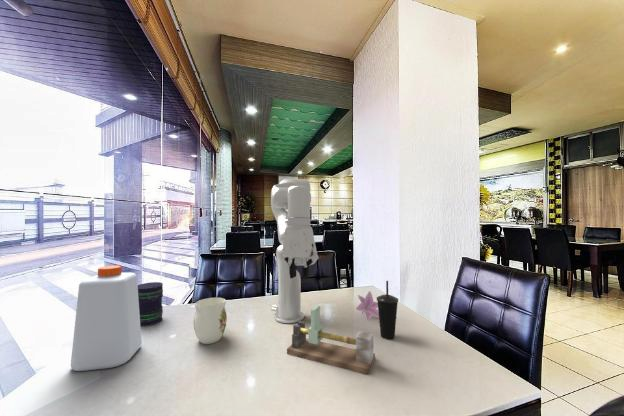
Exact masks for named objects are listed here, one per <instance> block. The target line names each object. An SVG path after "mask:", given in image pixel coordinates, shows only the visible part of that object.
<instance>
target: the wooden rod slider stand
mask: <svg viewBox="0 0 624 416" xmlns="http://www.w3.org/2000/svg"><path fill="white" fill-rule="evenodd" d="M292 327H293V328H292V329H293V330H292V334H291V344H290V345H289V346H288V347H287V349H286V354H287V355H291V356H295V357H298V358H303V359H306V360H311V361H315V362H318V363H321V364H326V365H330V366H334V367H337V368H341V369H345V370H348V371H353V372H357V373H360V374H364V375H370V373H371V372H370V371H371V370H372V367H373V365H374V362H375V360H376V353H375V352H374V333H373V332H367V331H363V330H360V331H359V332H358V334H357V335H356V337H355V338H351V337H350V336H343V335H338V334H334V333H333V334H332V333H329V332H324V331H323V332H318V337H321V338H323V339H326V340H331V341H335V342H340V343H345V344H347V345H354V346H356V347H355V348H351V347H347V346H344V345H343V346H342V345H339V344H334V343H330V342H325V341H322V340H321V341H320V342H319V343H318V344H313V343H308V338H307V336H308V328H306V321H303V320H301V321H299V322H297V324H293V326H292Z"/></svg>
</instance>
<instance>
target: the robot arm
mask: <svg viewBox="0 0 624 416" xmlns="http://www.w3.org/2000/svg"><path fill="white" fill-rule="evenodd" d="M270 192H271V193H270V199H271V200H270V207H271V211H272V214H273V217H274V219H275V221H276V224H277V225H276V226H277V235H278V242H279V243H280V245H279V246H278V247H277V248H276V251H275V254H276V255H275V256H276V262H277V279H278V287H277V288H278V291H277V292H278V294H277V295H278V297H277V299H278V300H277V303H278V304H272V305H271V311H272V312H275V314H274V320H275V321H277V322H278V323H283V324H294V323H298V322H299V321H303V320H304V318H305V314H304V312H303V311H301V308H302V306H301V302H302V299H301V298H302V297H301V293H302V292H301V291H302V290H301V280H307V279H309V276H310V266H311V265H315V263H316V262H317V260H319V258H320V257H319V255H318V252H317V246H316V240H315V237H314V231H313V227H311V202H312V194H311V184H310V182H309V180H308V179H305V178H284V179H282V180H281V181H280V182H279V183H277V184H274V185H273V186H272V188H271V191H270ZM298 266H302V268H301V274H300V272H299V271H298V270H297V267H298Z"/></svg>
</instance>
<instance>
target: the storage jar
mask: <svg viewBox="0 0 624 416" xmlns="http://www.w3.org/2000/svg"><path fill="white" fill-rule="evenodd" d="M137 286H138V300H139V314H140V327H148V326H152V325H156V324H159V323H160V322H162V321H163V312H164V310H163V296H164V293H163V292H164V290H163V288H164V287H163V286H164V285H163V282H160V281H159V282H158V281H154V282H152V281H151V282H145V283H141V284H137Z"/></svg>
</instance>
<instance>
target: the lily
mask: <svg viewBox="0 0 624 416" xmlns="http://www.w3.org/2000/svg"><path fill="white" fill-rule="evenodd" d="M357 297H358V299H359V301H360V304H358V305H357V306H356V311H359V312H361V314H363V313H365V318H366V321H367V322H369V320H370V319H371V318H372V316H373V317H375V318H377V319H379V312H378V302H376V301H374V297H373V294H372V291H370V290H369V291H368V292H367V294H366V296H365V297H364V296H362V295H360V294H358V295H357Z"/></svg>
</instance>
